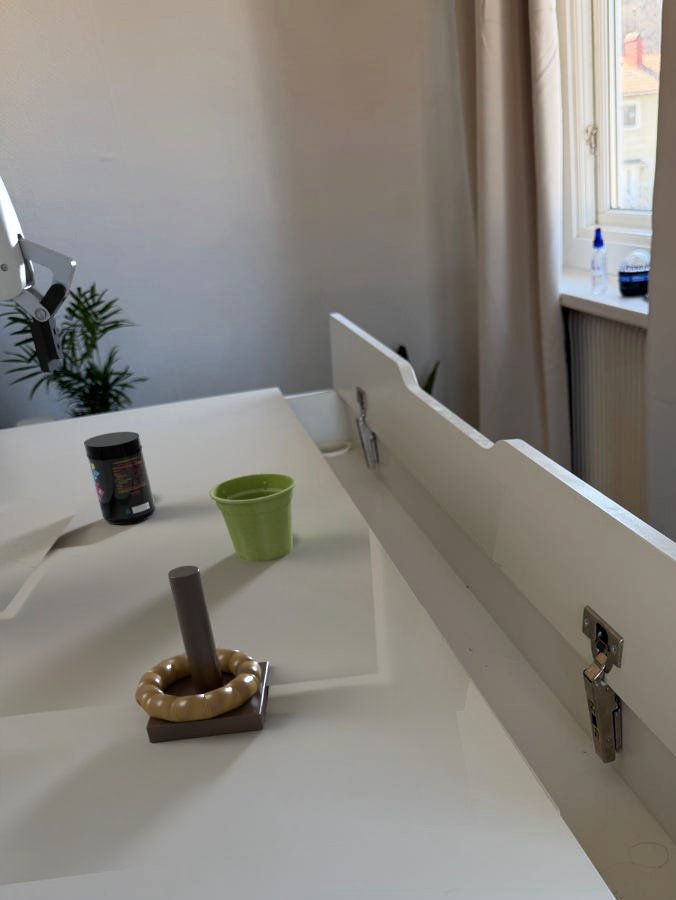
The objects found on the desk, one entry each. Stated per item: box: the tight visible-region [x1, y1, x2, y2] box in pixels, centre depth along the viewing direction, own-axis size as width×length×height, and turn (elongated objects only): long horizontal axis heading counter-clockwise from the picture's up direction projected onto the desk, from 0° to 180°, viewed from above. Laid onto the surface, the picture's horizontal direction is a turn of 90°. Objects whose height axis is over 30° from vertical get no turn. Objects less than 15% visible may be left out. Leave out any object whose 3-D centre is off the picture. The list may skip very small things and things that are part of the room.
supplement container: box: [83, 431, 156, 525], centre depth 125 cm, size 7×7×10 cm
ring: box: [134, 647, 261, 722], centre depth 81 cm, size 10×10×2 cm
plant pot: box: [208, 472, 297, 563], centre depth 110 cm, size 9×9×9 cm
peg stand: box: [145, 565, 270, 743], centre depth 79 cm, size 9×9×12 cm
